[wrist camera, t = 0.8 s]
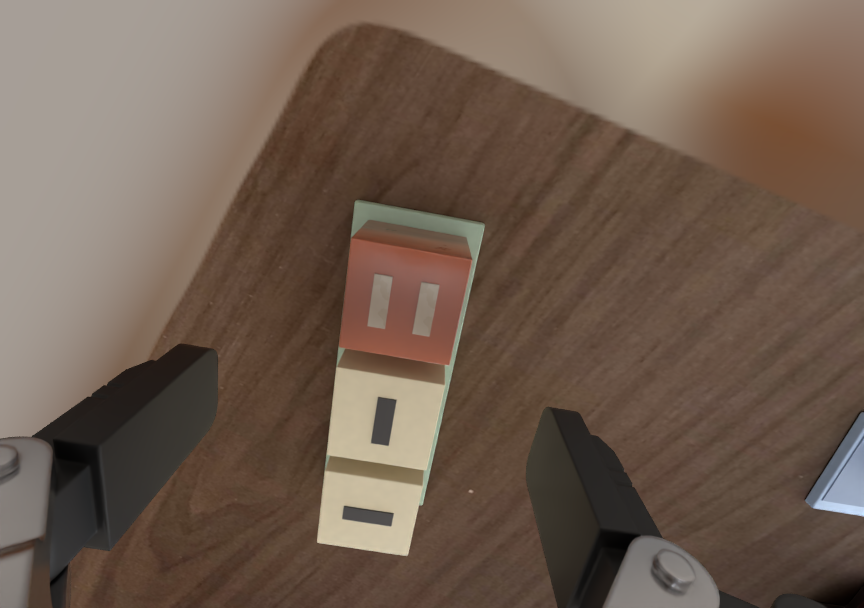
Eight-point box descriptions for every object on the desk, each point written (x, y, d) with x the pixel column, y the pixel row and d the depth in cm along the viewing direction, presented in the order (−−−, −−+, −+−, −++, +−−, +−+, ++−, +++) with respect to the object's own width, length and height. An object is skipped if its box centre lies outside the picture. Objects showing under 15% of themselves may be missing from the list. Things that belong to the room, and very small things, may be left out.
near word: (357, 199, 20) (332, 215, 15) (484, 222, 20) (495, 245, 16) (324, 483, 26) (301, 552, 21) (422, 497, 26) (418, 569, 22)
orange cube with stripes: (368, 219, 20) (349, 238, 16) (467, 237, 20) (473, 260, 16) (356, 311, 21) (337, 348, 17) (448, 327, 21) (449, 367, 18)
